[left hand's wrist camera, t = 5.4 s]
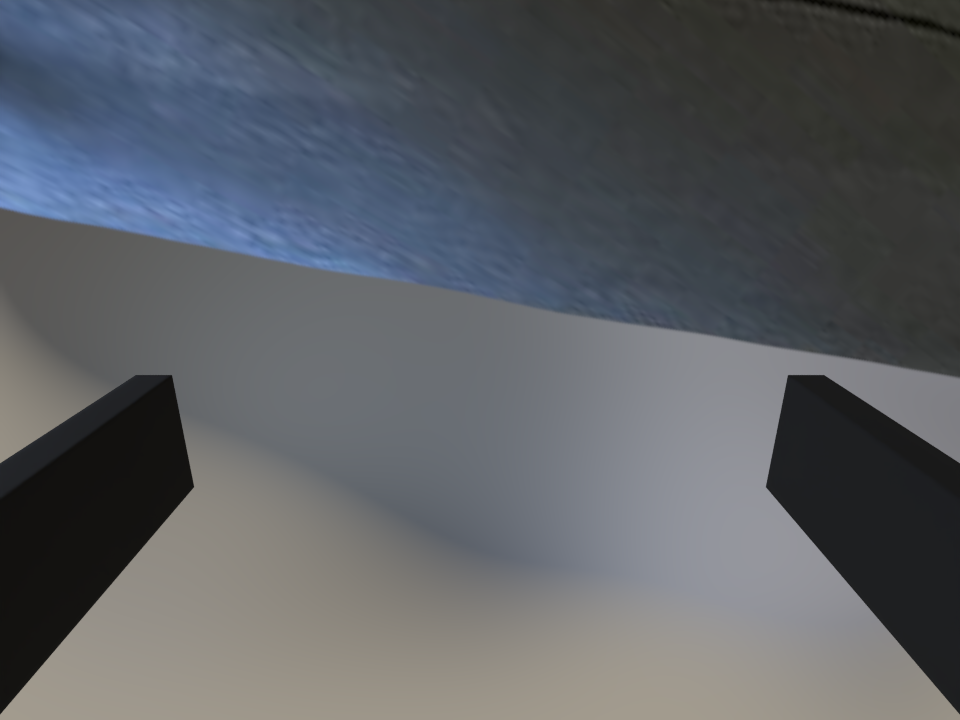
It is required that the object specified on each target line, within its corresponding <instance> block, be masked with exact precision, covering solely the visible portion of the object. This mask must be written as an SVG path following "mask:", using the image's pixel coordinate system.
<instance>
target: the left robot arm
mask: <svg viewBox="0 0 960 720" xmlns="http://www.w3.org/2000/svg"><path fill="white" fill-rule="evenodd" d="M193 488H194V484H193V479H192V474H191V469H190V464H189V459H188V454H187V449H186V444H185V439H184V434H183V429H182V424H181V419H180V414H179V409H178V404H177V399H176V393H175V388H174V383H173V378H172V375H135V376H134V377H132V378H131V379H129V380H128V381H126V382H125V383H123V384H122V385H120V386H119V387H117V388H115V389H114V390H112V391H111V392H109V393H108V394H106V395H105V396H103V397H102V398H100V399H99V400H97V401H96V402H94V403H92V404H91V405H89V406H88V407H86V408H85V409H83V410H82V411H80V412H79V413H77V414H75V415H74V416H72V417H71V418H69V419H68V420H66V421H65V422H63V423H62V424H60V425H59V426H57V427H55V428H54V429H52V430H51V431H49V432H48V433H46V434H45V435H43V436H42V437H40V438H39V439H37V440H35V441H34V442H32V443H31V444H29V445H28V446H26V447H25V448H23V449H22V450H20V451H19V452H17V453H15V454H14V455H12V456H11V457H9V458H8V459H6V460H5V461H3V462H2V463H0V714H1V713H2V712H3V710H4V709H5V708H6V707H7V706H8V704H9V703H10V702H11V701H12V700H13V699H14V698H15V696H16V695H17V694H18V693H19V692H20V690H21V689H22V688H23V687H24V686H25V685H26V683H27V682H28V681H29V680H30V679H31V678H32V676H33V675H34V674H35V673H36V672H37V670H38V669H39V668H40V667H41V666H42V665H43V664H44V662H45V661H46V660H47V659H48V658H49V656H50V655H51V654H52V653H53V652H54V651H55V649H56V648H57V647H58V646H59V645H60V644H61V642H62V641H63V640H64V639H65V638H66V637H67V635H68V634H69V633H70V632H71V631H72V629H73V628H74V627H75V626H76V625H77V624H78V622H79V621H80V620H81V619H82V618H83V617H84V615H85V614H86V613H87V612H88V611H89V610H90V608H91V607H92V606H93V605H94V604H95V603H96V601H97V600H98V599H99V598H100V597H101V596H102V594H103V593H104V592H105V591H106V590H107V588H108V587H109V586H110V585H111V584H112V583H113V581H114V580H115V579H116V578H117V577H118V576H119V574H120V573H121V572H122V571H123V570H124V569H125V567H126V566H127V565H128V564H129V563H130V561H131V560H132V559H133V558H134V557H135V556H136V554H137V553H138V552H139V551H140V550H141V549H142V547H143V546H144V545H145V544H146V543H147V542H148V540H149V539H150V538H151V537H152V536H153V535H154V533H155V532H156V531H157V530H158V529H159V528H160V526H161V525H162V524H163V523H164V522H165V520H166V519H167V518H168V517H169V516H170V515H171V513H172V512H173V511H174V510H175V509H176V508H177V506H178V505H179V504H180V503H181V502H182V501H183V499H184V498H185V497H186V496H187V495H188V493H189V492H190V491H191V490H192V489H193ZM766 488H767V489H768V490H769V491H770V492H771V494H772V495H773V496H774V497H775V498H776V499H777V500H778V502H779V503H780V504H781V505H782V506H783V508H784V509H785V510H786V511H787V512H788V513H789V515H790V516H791V517H792V518H793V519H794V520H795V522H796V523H797V524H798V525H799V526H800V527H801V529H802V530H803V531H804V532H805V533H806V535H807V536H808V537H809V538H810V539H811V540H812V542H813V543H814V544H815V545H816V546H817V547H818V549H819V550H820V551H821V552H822V553H823V554H824V556H825V557H826V558H827V559H828V560H829V562H830V563H831V564H832V565H833V566H834V567H835V569H836V570H837V571H838V572H839V573H840V574H841V576H842V577H843V578H844V579H845V580H846V581H847V583H848V584H849V585H850V586H851V587H852V588H853V590H854V591H855V592H856V593H857V594H858V595H859V597H860V598H861V599H862V600H863V601H864V603H865V604H866V605H867V606H868V607H869V608H870V610H871V611H872V612H873V613H874V614H875V615H876V617H877V618H878V619H879V620H880V621H881V622H882V624H883V625H884V626H885V627H886V628H887V629H888V631H889V632H890V633H891V634H892V635H893V637H894V638H895V639H896V640H897V641H898V642H899V644H900V645H901V646H902V647H903V648H904V649H905V651H906V652H907V653H908V654H909V655H910V656H911V658H912V659H913V660H914V661H915V662H916V664H917V665H918V666H919V667H920V668H921V669H922V671H923V672H924V673H925V674H926V675H927V676H928V678H929V679H930V680H931V681H932V682H933V683H934V685H935V686H936V687H937V688H938V689H939V690H940V692H941V693H942V694H943V695H944V696H945V698H946V699H947V700H948V701H949V702H950V703H951V704H952V706H953V707H954V708H955V709H956V710H957V712H958V713H959V714H960V463H958V462H957V461H955V460H954V459H952V458H951V457H949V456H948V455H946V454H944V453H943V452H941V451H940V450H938V449H937V448H935V447H934V446H932V445H931V444H929V443H928V442H926V441H925V440H923V439H921V438H920V437H918V436H917V435H915V434H914V433H912V432H911V431H909V430H908V429H906V428H905V427H903V426H901V425H900V424H898V423H897V422H895V421H894V420H892V419H891V418H889V417H888V416H886V415H885V414H883V413H881V412H880V411H878V410H877V409H875V408H874V407H872V406H871V405H869V404H868V403H866V402H864V401H863V400H861V399H860V398H858V397H857V396H855V395H854V394H852V393H851V392H849V391H848V390H846V389H845V388H843V387H841V386H840V385H838V384H837V383H835V382H834V381H832V380H831V379H829V378H828V377H826V376H825V375H788V378H787V383H786V388H785V393H784V399H783V404H782V409H781V414H780V419H779V424H778V429H777V434H776V439H775V444H774V449H773V454H772V459H771V464H770V469H769V474H768V479H767V484H766Z"/></svg>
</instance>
